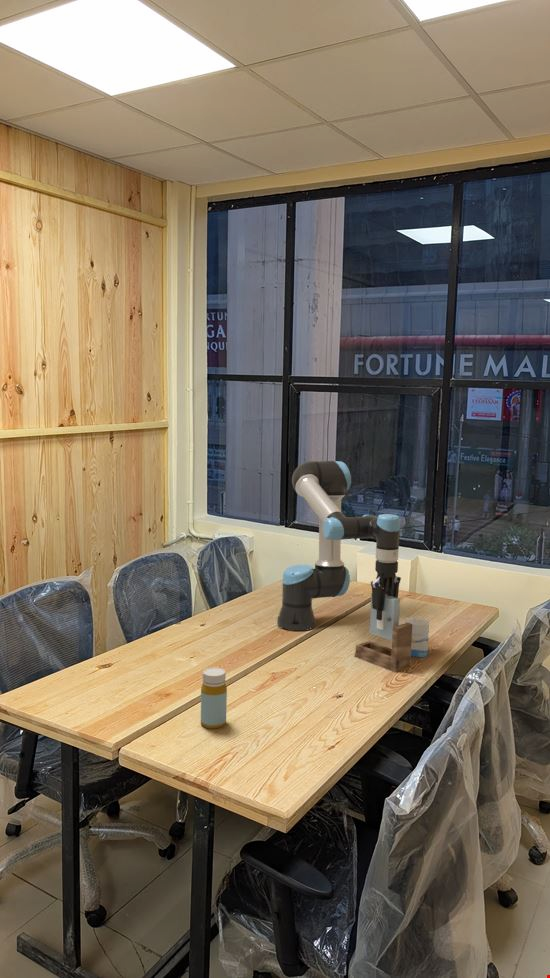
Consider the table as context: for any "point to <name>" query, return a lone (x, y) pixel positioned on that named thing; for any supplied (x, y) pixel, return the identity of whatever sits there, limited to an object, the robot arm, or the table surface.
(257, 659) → the table surface
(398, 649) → the track
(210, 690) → the bottle
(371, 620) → the door
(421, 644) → the ink box
